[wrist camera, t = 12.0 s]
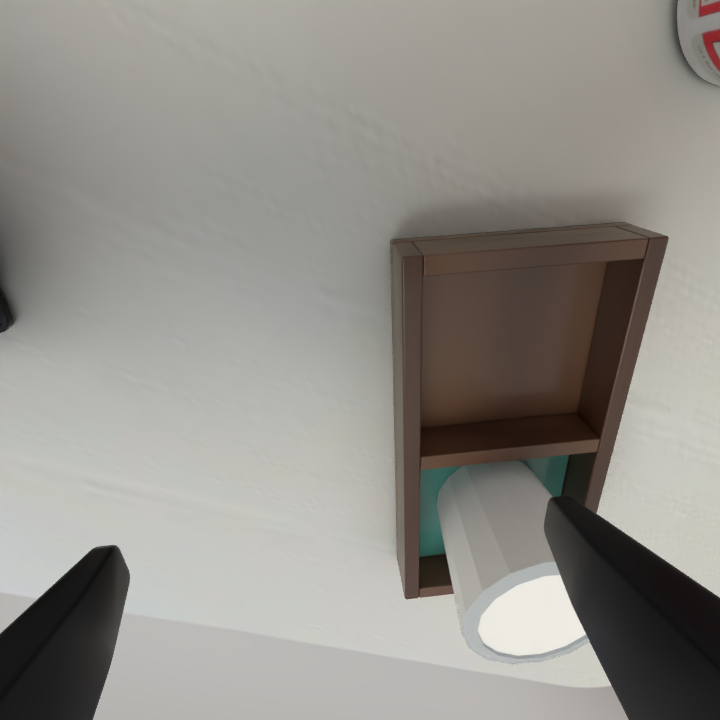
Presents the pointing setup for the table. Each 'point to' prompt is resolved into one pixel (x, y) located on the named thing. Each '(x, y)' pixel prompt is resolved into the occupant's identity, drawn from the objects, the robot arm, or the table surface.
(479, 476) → the white cup
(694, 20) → the pill bottle
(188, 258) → the table surface
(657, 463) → the table surface
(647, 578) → the robot arm
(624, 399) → the holder
